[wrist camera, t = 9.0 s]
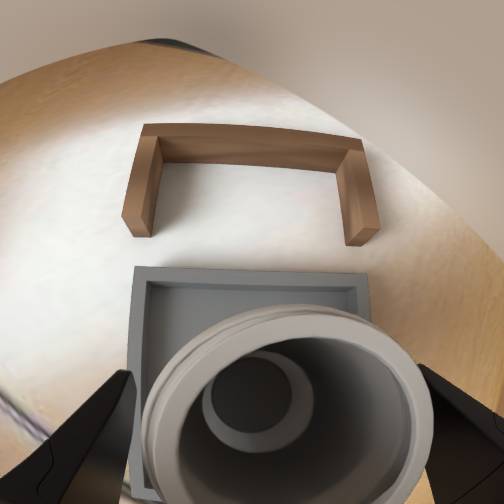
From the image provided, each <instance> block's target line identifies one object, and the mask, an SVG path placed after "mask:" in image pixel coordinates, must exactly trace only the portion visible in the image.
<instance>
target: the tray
mask: <svg viewBox="0 0 504 504" xmlns="http://www.w3.org/2000/svg"><path fill="white" fill-rule="evenodd" d="M285 304H309V305H318V306H324V307H330V308H334V309H337V310H341V311H344V312H347V313H351V314H354V315H357V316H359V317H361V318H363V319H365V320H366V321H368V322H370V323H371V315H370V302H369V291H368V280H367V274H355V273H308V272H272V271H242V270H214V269H190V268H167V267H146V266H135V267H134V276H133V285H132V295H131V305H130V318H129V332H128V351H127V370H130V371H132V373H133V376H134V380H135V383H136V387H137V398H136V407H135V416H134V425H133V434H132V440H131V445H130V450H129V454H128V461H129V474H130V485H131V495H132V497H134V498H140V499H146V500H153V501H161V502H162V500H161V499H160V497H159V496H158V494H157V493H156V491H155V490H154V488H153V486H152V485H151V483H150V480H149V477H148V474H147V472H146V469H145V466H144V463H143V458H142V449H141V438H140V432H141V422H142V416H143V411H144V408H145V404H146V401H147V398H148V396H149V393H150V391H151V389H152V387H153V385H154V383H155V381H156V379H157V378H158V376H159V375H160V373H161V372H162V370H163V369H164V367H165V366H166V365H167V364H168V362H169V361H170V360H171V359H172V358H173V357H174V355H175V354H176V353H177V352H178V351H179V350H180V349H182V348H183V347H184V346H185V345H186V344H187V343H188V342H190V341H191V340H192V339H193V338H195V337H196V336H198V335H199V334H200V333H202V332H203V331H205V330H207V329H208V328H210V327H212V326H214V325H215V324H217V323H219V322H221V321H223V320H226V319H228V318H230V317H233V316H235V315H238V314H241V313H244V312H247V311H250V310H254V309H258V308H263V307H268V306H275V305H285Z"/></svg>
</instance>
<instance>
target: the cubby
mask: <svg viewBox="0 0 504 504" xmlns="http://www.w3.org/2000/svg"><path fill="white" fill-rule="evenodd" d="M163 163H211V164H234V165H252V166H267V167H280V168H291V169H302V170H312V171H322V172H331V173H336V178H337V184H338V191H339V198H340V205H341V212H342V219H343V227H344V236H345V244H346V246H362V245H363V244H364V243H366V242H367V241H368V240H369V239H370V238H371V237H372V236H373V235H374V234H375V233H377V232H378V231H379V230H380V223H379V217H378V212H377V207H376V202H375V196H374V192H373V187H372V182H371V178H370V173H369V169H368V164H367V160H366V156H365V152H364V148H363V144H362V140H361V139H356V138H350V137H344V136H338V135H331V134H324V133H317V132H309V131H301V130H292V129H283V128H273V127H261V126H247V125H230V124H202V123H155V124H144V125H143V129H142V132H141V136H140V139H139V143H138V147H137V150H136V154H135V158H134V162H133V166H132V170H131V174H130V178H129V183H128V187H127V191H126V196H125V201H124V206H123V211H122V216H121V217H122V218H123V220H124V222H125V223H126V225H127V227H128V228H129V230H130V232H131V233H132V235H133V237H151V234H152V226H153V219H154V213H155V206H156V200H157V194H158V188H159V183H160V177H161V172H162V166H163Z"/></svg>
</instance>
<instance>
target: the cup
mask: <svg viewBox="0 0 504 504" xmlns="http://www.w3.org/2000/svg"><path fill="white" fill-rule="evenodd" d="M140 438H141V449H142V458H143V463H144V466H145V469H146V472H147V474H148V477H149V480H150V483H151V485H152V486H153V488H154V490H155V491H156V493H157V494H158V496H159V497H160V499H161V500H162V502H163V503H164V504H403V503H404V502H405V501H406V500H407V498H408V497H409V495H410V494H411V492H412V491H413V489H414V487H415V486H416V484H417V482H418V481H419V479H420V477H421V475H422V473H423V470H424V468H425V465H426V463H427V460H428V458H429V453H430V449H431V444H432V439H433V407H432V402H431V397H430V392H429V389H428V386H427V384H426V382H425V379H424V377H423V375H422V373H421V370H420V369H419V368H418V366H417V365H416V363H415V362H414V360H413V359H412V358H411V357H410V355H409V354H408V352H407V351H406V350H405V349H403V348H402V347H401V346H400V345H399V344H398V343H397V342H396V341H395V340H394V339H392V338H391V337H390V336H389V335H388V334H387V333H385V332H384V331H383V330H382V329H381V328H379V327H378V326H376V325H374V324H372V323H370V322H368V321H366V320H365V319H363V318H361V317H359V316H357V315H354V314H351V313H347V312H344V311H341V310H337V309H334V308H330V307H324V306H318V305H309V304H285V305H275V306H268V307H263V308H258V309H254V310H250V311H247V312H244V313H241V314H238V315H235V316H233V317H230V318H228V319H226V320H223V321H221V322H219V323H217V324H215V325H214V326H212V327H210V328H208V329H207V330H205V331H203V332H202V333H200V334H199V335H198V336H196V337H195V338H193V339H192V340H191V341H190V342H188V343H187V344H186V345H185V346H184V347H183V348H182V349H180V350H179V351H178V352H177V353H176V354H175V355H174V357H173V358H172V359H171V360H170V361H169V362H168V364H167V365H166V366H165V367H164V369H163V370H162V372H161V373H160V375H159V376H158V378H157V379H156V381H155V383H154V385H153V387H152V389H151V391H150V393H149V396H148V398H147V401H146V404H145V408H144V411H143V416H142V422H141V432H140Z"/></svg>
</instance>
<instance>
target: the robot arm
mask: <svg viewBox="0 0 504 504" xmlns="http://www.w3.org/2000/svg"><path fill="white" fill-rule="evenodd" d="M416 365H417V366H418V368H419V369H420V370H421V373H422V375H423V377H424V379H425V382H426V384H427V386H428V389H429V392H430V397H431V402H432V407H433V439H432V444H431V449H430V453H429V458H428V460H427V463H426V465H425V469H426V473H427V476H428V480H429V483H430V487H431V490H432V494H433V498H434V502H435V504H504V418H502V417H501V416H499V415H498V414H496V413H495V412H492V410H490V409H489V408H487V407H486V406H484V405H483V404H481V403H480V402H478V401H477V400H475V399H474V398H472V397H471V396H469V395H468V394H466V393H465V392H463V391H462V390H460V389H459V388H457V387H456V386H454V385H453V384H451V383H450V382H448V381H447V380H446V379H444V378H443V377H441V376H440V375H438V374H437V373H435V372H434V371H432V370H431V369H429V368H428V367H426V366H425V365H423V364H416ZM136 398H137V387H136V383H135V380H134V376H133V373H132V371H130V370H123V369H119V370H117V371H116V372H115V373H114V374H113V375H112V376H111V377H110V378H109V379H108V380H107V381H106V382H105V383H104V384H103V385H102V386H101V387H100V388H99V389H98V390H97V391H96V392H95V393H94V394H93V395H92V396H91V397H90V398H89V399H88V400H86V401H85V402H84V403H83V404H82V405H81V406H80V407H79V408H78V409H77V410H76V411H75V412H74V413H73V414H72V415H71V416H70V417H69V418H68V419H67V420H66V421H65V422H64V423H63V424H62V425H61V426H60V427H59V428H58V429H57V430H56V431H55V432H54V433H53V434H52V435H51V436H50V437H49V439H47V440H46V441H45V442H44V443H43V444H42V445H41V446H40V447H38V448H37V449H36V450H35V451H34V452H33V453H32V454H31V455H30V456H29V457H27V458H26V459H25V460H24V461H22V462H21V463H20V464H19V465H17V466H16V467H15V468H13V469H12V470H11V471H10V472H8V473H7V474H6V475H4V476H3V477H2V478H0V504H119V499H120V494H121V489H122V483H123V478H124V473H125V468H126V464H127V459H128V454H129V450H130V445H131V440H132V434H133V425H134V416H135V407H136Z"/></svg>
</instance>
